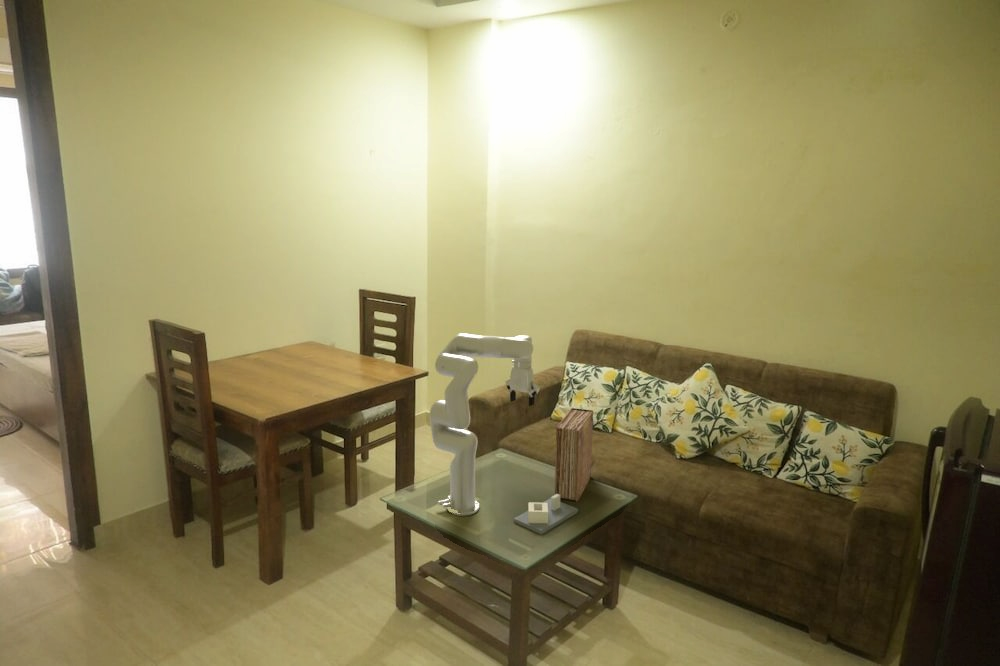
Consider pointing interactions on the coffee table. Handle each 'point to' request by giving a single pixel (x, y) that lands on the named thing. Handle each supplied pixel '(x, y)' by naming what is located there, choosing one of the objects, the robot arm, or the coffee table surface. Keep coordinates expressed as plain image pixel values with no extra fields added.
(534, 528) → the grey flat piece
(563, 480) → the book
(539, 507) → the collar
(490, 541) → the coffee table surface
